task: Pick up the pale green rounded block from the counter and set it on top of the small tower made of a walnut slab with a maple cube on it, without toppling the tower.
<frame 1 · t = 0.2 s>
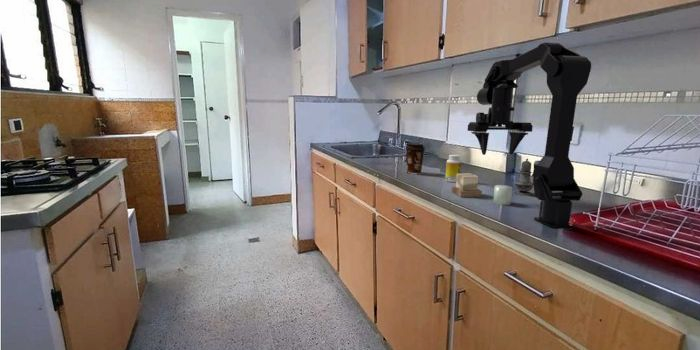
hand: (497, 154, 106), 14 cm above the worktop, tool pointing down, fingers open, 9 cm apart
cube: (466, 188, 111), point 2 cm above the worktop
coffee cup: (413, 173, 149), on the worktop
slab: (465, 195, 111), on the worktop
supplement bottle: (452, 181, 132), on the worktop
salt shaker: (523, 194, 113), on the worktop
pale green rounded block: (501, 202, 101), on the worktop
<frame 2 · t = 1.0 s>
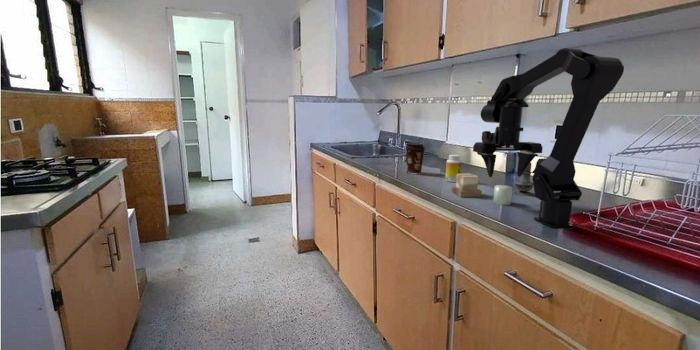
hand: (504, 176, 100), 8 cm above the worktop, tool pointing down, fingers open, 9 cm apart
cube: (466, 188, 111), point 2 cm above the worktop, touching slab
slab: (465, 195, 111), on the worktop, touching cube
everything else where it was.
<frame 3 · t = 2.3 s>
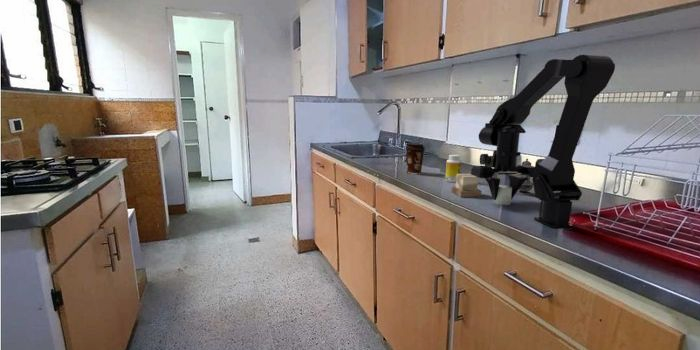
hand: (502, 199, 101), 1 cm above the worktop, tool pointing down, fingers closed on pale green rounded block, 5 cm apart
pale green rounded block: (501, 202, 101), on the worktop, touching gripper
everything else where it was.
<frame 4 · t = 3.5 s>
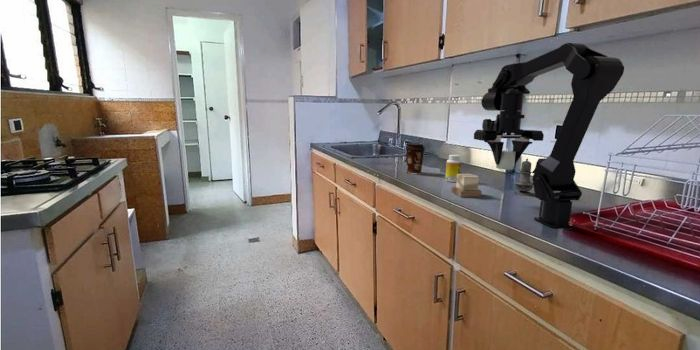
hand: (505, 164, 99), 12 cm above the worktop, tool pointing down, fingers closed on pale green rounded block, 5 cm apart
cube: (466, 188, 111), point 2 cm above the worktop
slab: (465, 195, 111), on the worktop
pale green rounded block: (505, 168, 100), point 11 cm above the worktop, touching gripper
everything else where it was.
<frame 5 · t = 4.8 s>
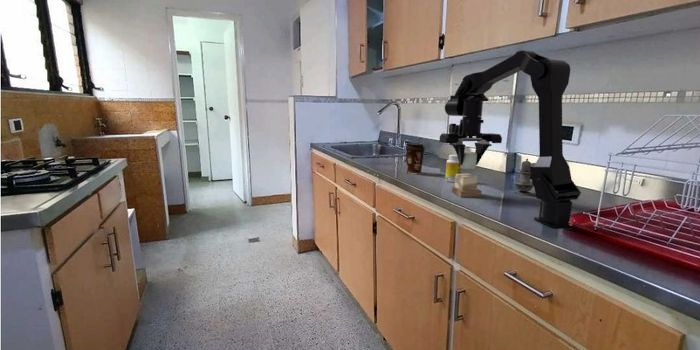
hand: (468, 164, 109), 10 cm above the worktop, tool pointing down, fingers closed on pale green rounded block, 5 cm apart
cube: (465, 188, 111), point 2 cm above the worktop, touching slab
slab: (465, 195, 111), on the worktop, touching cube
pale green rounded block: (468, 167, 110), point 9 cm above the worktop, touching gripper
everything else where it was.
when the fingers open (9 cm above the worktop, at t = 5.3 s): pale green rounded block drops 1 cm, resting on cube.
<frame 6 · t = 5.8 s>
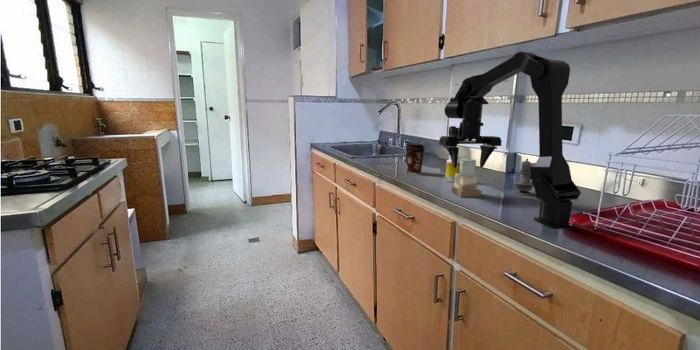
hand: (468, 167, 110), 9 cm above the worktop, tool pointing down, fingers open, 9 cm apart
cube: (465, 188, 111), point 2 cm above the worktop, touching pale green rounded block
slab: (465, 195, 111), on the worktop
pale green rounded block: (466, 175, 110), point 6 cm above the worktop, touching cube
everything else where it was.
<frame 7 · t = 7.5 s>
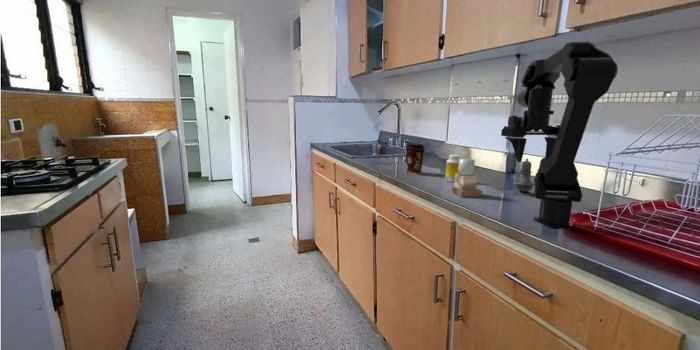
hand: (533, 161, 98), 13 cm above the worktop, tool pointing down, fingers open, 9 cm apart
cube: (465, 188, 111), point 2 cm above the worktop, touching pale green rounded block, slab
slab: (465, 195, 111), on the worktop, touching cube
everything else where it was.
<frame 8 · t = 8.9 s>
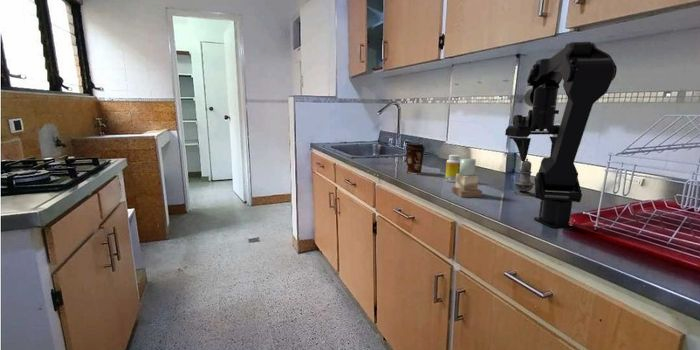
hand: (537, 161, 97), 13 cm above the worktop, tool pointing down, fingers open, 9 cm apart
cube: (466, 188, 111), point 2 cm above the worktop, touching slab
pale green rounded block: (467, 174, 110), point 7 cm above the worktop
everything else where it was.
at the end: pale green rounded block 0.2 cm off-centre on the cube, point 4.5 cm above the cube's base; cube tilted 1°; cube 0.5 cm from the slab (horizontally) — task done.
